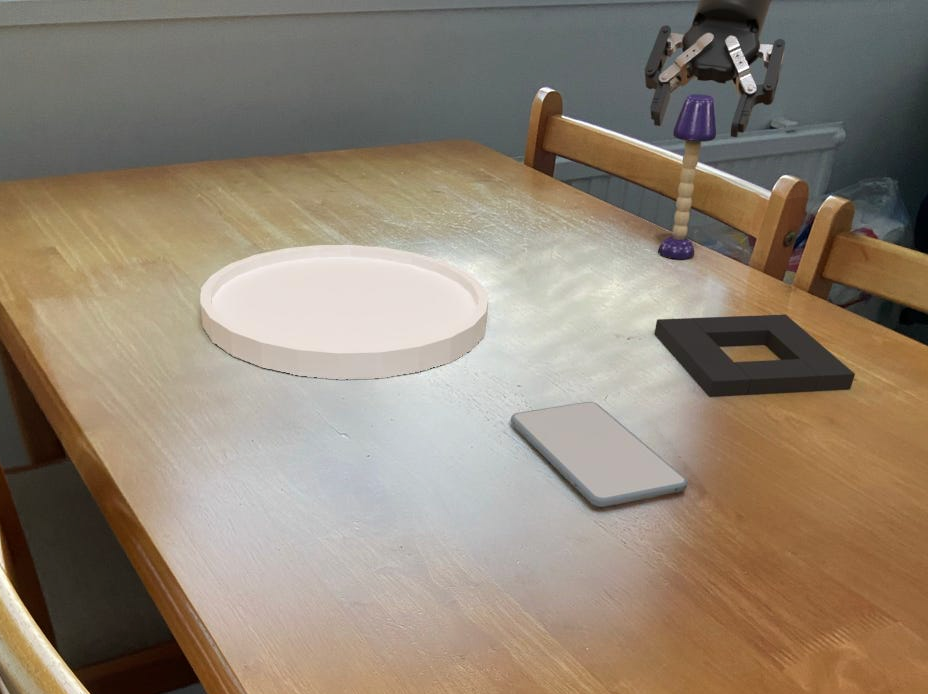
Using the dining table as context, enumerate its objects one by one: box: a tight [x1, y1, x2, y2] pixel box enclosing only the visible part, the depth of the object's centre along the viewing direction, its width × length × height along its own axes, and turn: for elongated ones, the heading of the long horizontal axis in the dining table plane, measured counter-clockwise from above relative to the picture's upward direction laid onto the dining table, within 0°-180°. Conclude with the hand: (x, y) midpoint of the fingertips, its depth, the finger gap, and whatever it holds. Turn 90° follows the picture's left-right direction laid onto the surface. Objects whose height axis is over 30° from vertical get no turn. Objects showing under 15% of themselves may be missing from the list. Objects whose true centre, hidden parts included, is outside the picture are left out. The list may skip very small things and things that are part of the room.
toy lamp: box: [657, 93, 717, 260], centre depth 114 cm, size 5×5×17 cm
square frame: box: [654, 314, 856, 398], centre depth 93 cm, size 13×13×3 cm
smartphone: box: [510, 401, 688, 508], centre depth 80 cm, size 8×1×15 cm
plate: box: [199, 244, 489, 381], centre depth 99 cm, size 28×28×2 cm
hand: (695, 127), depth 110 cm, fingers open, 8 cm apart
